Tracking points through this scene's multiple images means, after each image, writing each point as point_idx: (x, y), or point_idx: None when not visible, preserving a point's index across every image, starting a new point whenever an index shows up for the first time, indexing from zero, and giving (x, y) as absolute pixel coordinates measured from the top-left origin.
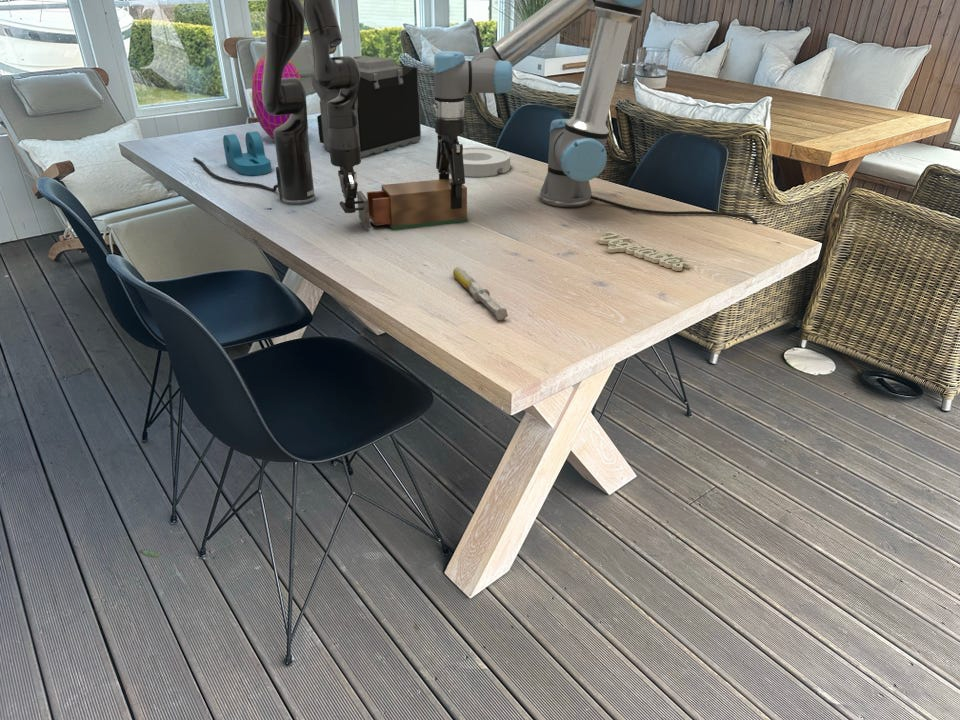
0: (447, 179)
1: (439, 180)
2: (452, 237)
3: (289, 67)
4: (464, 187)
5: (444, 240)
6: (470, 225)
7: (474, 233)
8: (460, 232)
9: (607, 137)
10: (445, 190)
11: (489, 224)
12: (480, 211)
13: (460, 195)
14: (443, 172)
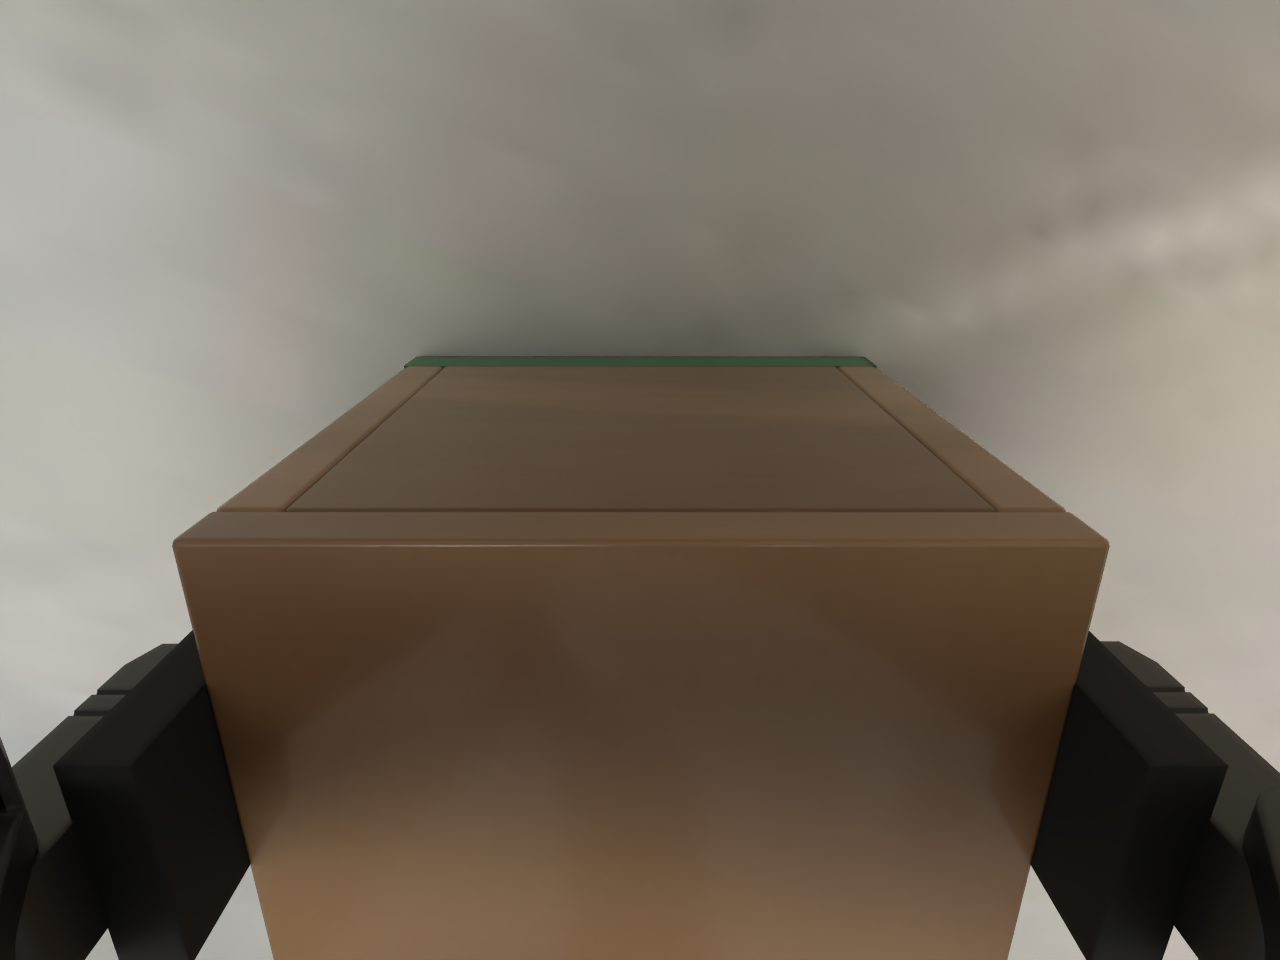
0: (290, 742)
1: (339, 894)
2: (1232, 652)
3: None
4: (1069, 593)
5: (1256, 735)
6: (1006, 364)
7: (1268, 412)
8: (1151, 541)
9: None
10: (1003, 940)
11: (1096, 106)
12: (533, 17)
13: (1155, 670)
14: (70, 901)
